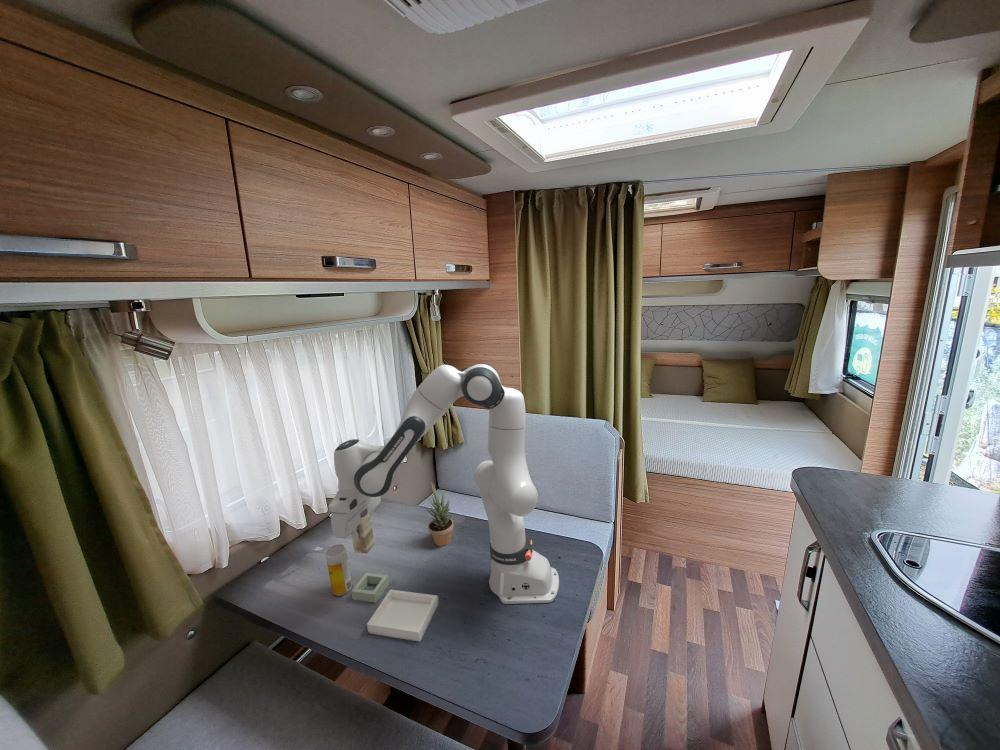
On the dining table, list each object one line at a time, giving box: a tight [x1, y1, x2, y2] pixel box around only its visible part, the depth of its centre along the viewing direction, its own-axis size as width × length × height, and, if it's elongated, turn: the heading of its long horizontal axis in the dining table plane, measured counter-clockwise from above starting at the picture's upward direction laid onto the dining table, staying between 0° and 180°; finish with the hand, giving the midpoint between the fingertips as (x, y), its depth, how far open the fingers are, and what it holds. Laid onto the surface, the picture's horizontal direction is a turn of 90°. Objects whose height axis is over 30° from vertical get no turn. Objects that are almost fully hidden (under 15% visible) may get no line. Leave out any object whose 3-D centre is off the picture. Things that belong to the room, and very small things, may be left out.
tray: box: [366, 589, 440, 642], centre depth 111 cm, size 16×13×3 cm
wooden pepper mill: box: [351, 508, 376, 555], centre depth 118 cm, size 5×5×13 cm
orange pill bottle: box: [325, 543, 353, 597], centre depth 123 cm, size 6×6×15 cm
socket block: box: [350, 572, 390, 604], centre depth 123 cm, size 8×8×3 cm
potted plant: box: [426, 482, 454, 547], centre depth 143 cm, size 10×10×25 cm
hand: (362, 532), depth 119 cm, fingers closed on wooden pepper mill, 4 cm apart
